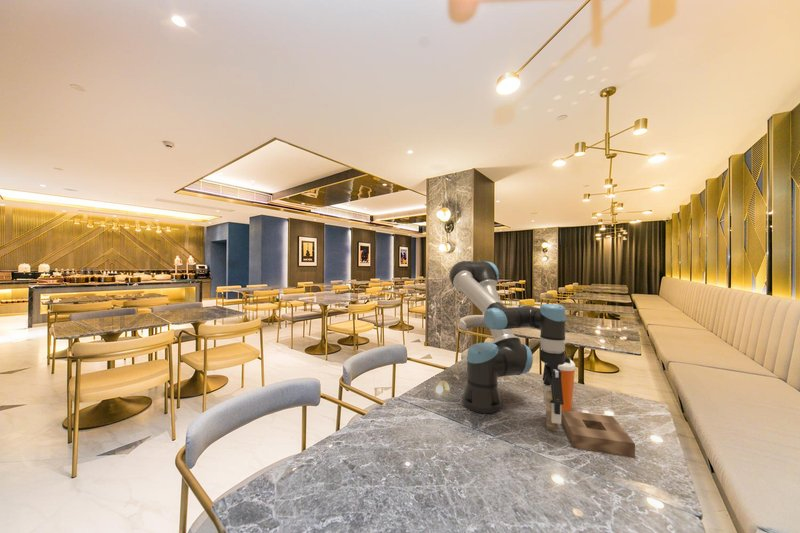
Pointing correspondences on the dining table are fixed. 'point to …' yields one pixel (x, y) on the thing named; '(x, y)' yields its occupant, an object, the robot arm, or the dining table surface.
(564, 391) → the shaker bottle
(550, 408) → the peg
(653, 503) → the dining table surface
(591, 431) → the socket block
